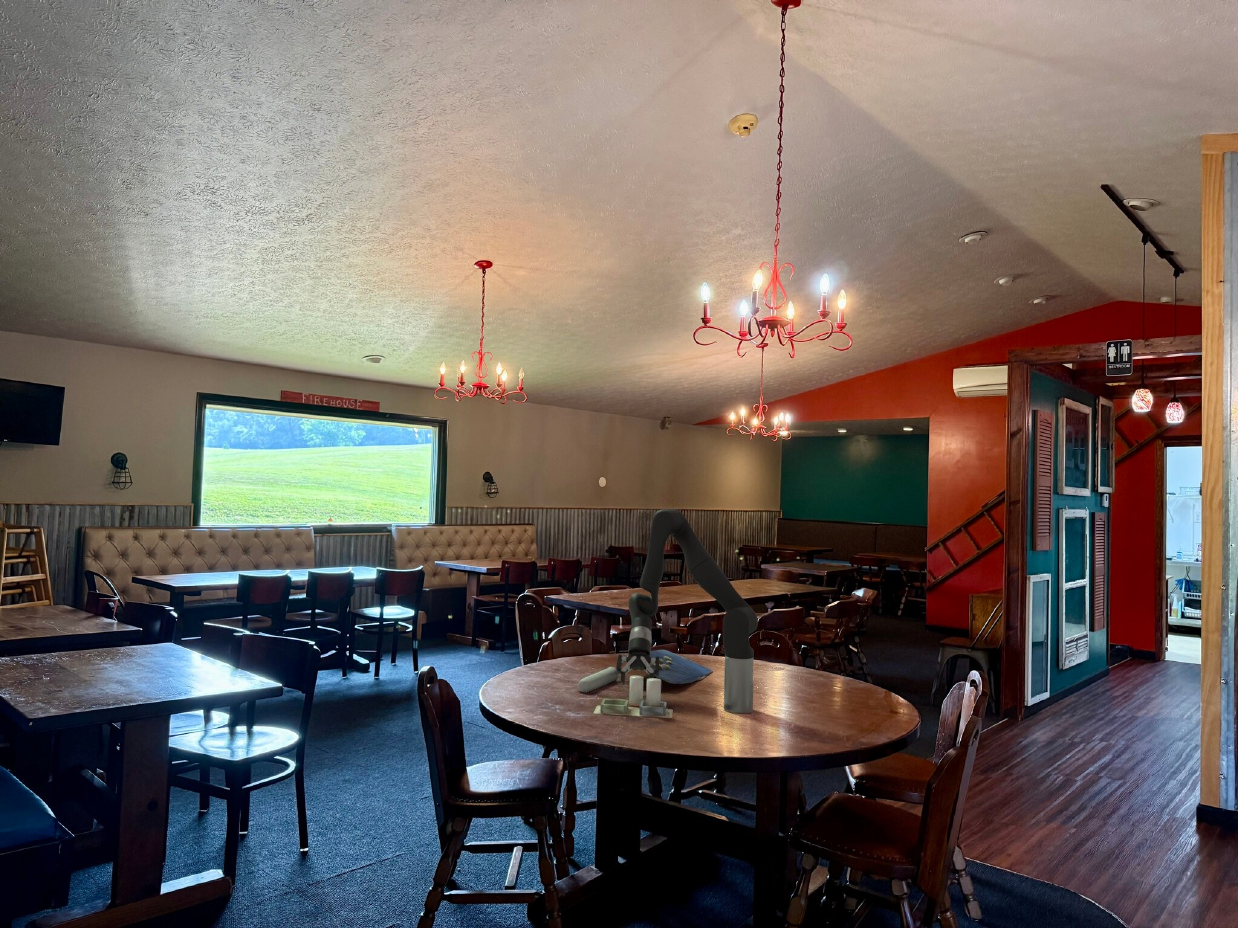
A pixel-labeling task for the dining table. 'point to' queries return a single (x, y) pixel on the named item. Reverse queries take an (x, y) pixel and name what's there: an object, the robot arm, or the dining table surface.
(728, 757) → the dining table surface
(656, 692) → the seated sleeve
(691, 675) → the serving platter
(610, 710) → the board
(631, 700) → the white peg
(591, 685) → the tube
